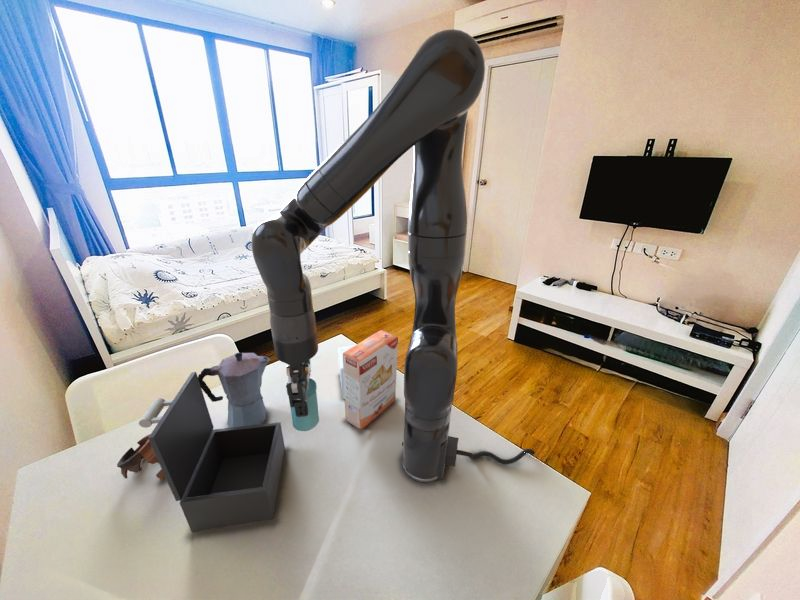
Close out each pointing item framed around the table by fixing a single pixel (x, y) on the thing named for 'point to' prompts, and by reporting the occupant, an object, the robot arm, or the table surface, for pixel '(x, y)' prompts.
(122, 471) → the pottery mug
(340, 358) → the cosmetics box
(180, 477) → the lid
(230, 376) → the moka pot
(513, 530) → the table surface
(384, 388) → the cracker box
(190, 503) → the open box
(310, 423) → the container
